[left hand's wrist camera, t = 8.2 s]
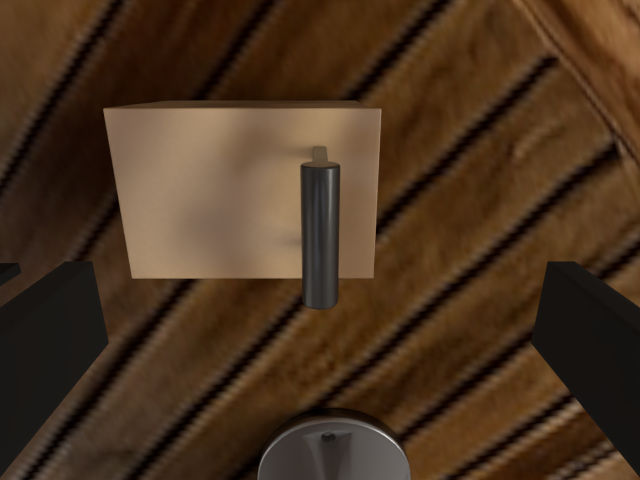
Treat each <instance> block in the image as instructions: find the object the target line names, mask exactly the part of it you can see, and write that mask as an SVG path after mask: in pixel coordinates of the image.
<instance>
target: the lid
mask: <svg viewBox="0 0 640 480" xmlns="http://www.w3.org/2000/svg"><path fill="white" fill-rule="evenodd" d="M103 111H104V117H105V123H106V129H107V134H108V140H109V146H110V152H111V158H112V164H113V169H114V175H115V181H116V187H117V193H118V199H119V204H120V210H121V216H122V222H123V228H124V234H125V239H126V245H127V251H128V257H129V263H130V269H131V275H132V278H302V301H303V303H304V304H305V305H306V306H307V307H309V308H312V309H328V308H331V307H333V306H335V305H336V304H337V302H338V285H339V278H373V274H374V253H375V232H376V212H377V191H378V171H379V150H380V129H381V108H379V107H110V108H104V109H103Z"/></svg>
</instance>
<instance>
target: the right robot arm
mask: <svg viewBox="0 0 640 480" xmlns="http://www.w3.org/2000/svg"><path fill="white" fill-rule="evenodd" d="M20 273H21V270H20V266H19V263H0V286H1V285H3V284H4V283H6V282H7V281H9V280H10V279H12V278H14V277H15V276H17V275H18V274H20Z"/></svg>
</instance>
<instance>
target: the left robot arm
mask: <svg viewBox="0 0 640 480" xmlns="http://www.w3.org/2000/svg"><path fill="white" fill-rule="evenodd" d="M108 344H109V342H108V337H107V332H106V327H105V322H104V317H103V312H102V307H101V302H100V298H99V293H98V288H97V283H96V278H95V273H94V268H93V263H92V262H64V263H63V264H61V265H60V266H59V267H57V268H56V269H54V270H53V271H51V272H50V273H49V274H47V275H46V276H44V277H43V278H42V279H40V280H39V281H37V282H36V283H34V284H33V285H32V286H30V287H29V288H27V289H26V290H24V291H23V292H22V293H20V294H19V295H17V296H16V297H15V298H13V299H12V300H10V301H9V302H7V303H6V304H5V305H3V306H2V307H0V477H1V476H2V474H3V473H4V472H5V471H6V470H7V468H8V467H9V466H10V465H11V463H12V462H13V461H14V460H15V458H16V457H17V456H18V455H19V453H20V452H21V451H22V450H23V449H24V447H25V446H26V445H27V444H28V442H29V441H30V440H31V439H32V437H33V436H34V435H35V434H36V432H37V431H38V430H39V429H40V428H41V426H42V425H43V424H44V423H45V421H46V420H47V419H48V418H49V416H50V415H51V414H52V413H53V411H54V410H55V409H56V408H57V407H58V405H59V404H60V403H61V402H62V400H63V399H64V398H65V397H66V395H67V394H68V393H69V392H70V390H71V389H72V388H73V387H74V386H75V384H76V383H77V382H78V381H79V379H80V378H81V377H82V376H83V374H84V373H85V372H86V371H87V369H88V368H89V367H90V366H91V365H92V363H93V362H94V361H95V360H96V358H97V357H98V356H99V355H100V353H101V352H102V351H103V350H104V348H105V347H106V346H107V345H108ZM531 344H532V345H533V346H534V347H535V348H536V350H537V351H538V352H539V353H540V355H541V356H542V357H543V358H544V360H545V361H546V362H547V363H548V365H549V366H550V367H551V368H552V369H553V371H554V372H555V373H556V374H557V376H558V377H559V378H560V379H561V381H562V382H563V383H564V384H565V386H566V387H567V388H568V389H569V390H570V392H571V393H572V394H573V395H574V397H575V398H576V399H577V400H578V402H579V403H580V404H581V405H582V407H583V408H584V409H585V410H586V411H587V413H588V414H589V415H590V416H591V418H592V419H593V420H594V421H595V423H596V424H597V425H598V426H599V428H600V429H601V430H602V431H603V432H604V434H605V435H606V436H607V437H608V439H609V440H610V441H611V442H612V444H613V445H614V446H615V447H616V449H617V450H618V451H619V452H620V453H621V455H622V456H623V457H624V458H625V460H626V461H627V462H628V463H629V465H630V466H631V467H632V468H633V470H634V471H635V472H636V473H637V474H638V476H639V477H640V307H638V306H637V305H635V304H634V303H633V302H631V301H630V300H628V299H627V298H625V297H624V296H623V295H621V294H620V293H618V292H617V291H615V290H614V289H613V288H611V287H610V286H608V285H607V284H606V283H604V282H603V281H601V280H600V279H598V278H597V277H596V276H594V275H593V274H591V273H590V272H589V271H587V270H586V269H584V268H583V267H581V266H580V265H579V264H577V263H576V262H548V263H547V268H546V273H545V278H544V283H543V288H542V293H541V298H540V302H539V307H538V312H537V317H536V322H535V327H534V332H533V337H532V342H531ZM258 480H411V474H410V468H409V463H408V459H407V455H406V451H405V448H404V446H403V444H402V442H401V440H400V439H399V438H398V436H397V435H396V434H395V433H394V432H393V431H392V430H391V429H390V428H389V427H388V426H386V425H385V424H384V423H382V422H381V421H379V420H377V419H375V418H373V417H371V416H368V415H366V414H363V413H359V412H355V411H350V410H341V409H328V410H319V411H314V412H310V413H306V414H303V415H301V416H298V417H296V418H294V419H292V420H290V421H288V422H287V423H285V424H284V425H282V426H281V427H280V428H278V429H277V430H276V431H275V432H274V433H273V434H272V435H271V437H270V438H269V439H268V441H267V442H266V444H265V446H264V448H263V451H262V454H261V458H260V464H259V471H258Z"/></svg>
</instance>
